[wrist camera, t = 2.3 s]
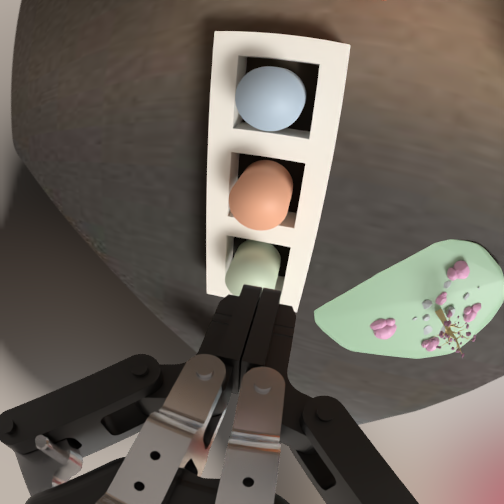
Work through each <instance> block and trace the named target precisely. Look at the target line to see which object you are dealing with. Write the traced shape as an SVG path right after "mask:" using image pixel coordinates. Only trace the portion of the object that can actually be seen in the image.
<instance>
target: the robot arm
mask: <svg viewBox="0 0 504 504" xmlns="http://www.w3.org/2000/svg"><path fill="white" fill-rule="evenodd" d="M280 298H281V291H280V290H275V289H269V288H263V290H262V287H258V286H252V285H247V284H244V285H243V287H242V290H241V293H240V295H239V296H235V295H230V294H228V295H227V296H226V297H225V298H224V299H223V300H221V301H220V303H219V305H218V307H217V309H216V312H215V314H214V316H213V319H212V322H211V323H210V326H209V328H208V330H207V333H206V335H205V337H204V340H203V342H202V344H201V347H200V349H199V351H198V353H197V354H196V356H194V357H192V358H191V359H189V360H188V361H187V362H185V363H182V364H177V365H176V364H175V365H159V363H158V362H157V360H156V359H154V358H153V357H151V356H149V355H146V354H138V355H134V356H131V357H129V358H127V359H125V360H123V361H120V362H118V363H116V364H114V365H112V366H110V367H107V368H105V369H103V370H101V371H99V372H97V373H95V374H92V375H90V376H87V377H85V378H83V379H81V380H79V381H76V382H74V383H72V384H69V385H67V386H65V387H62V388H60V389H58V390H56V391H53V392H51V393H49V394H46V395H44V396H41V397H39V398H36V399H34V400H32V401H29V402H27V403H24V404H22V405H20V406H17V407H15V408H12V409H9V410H7V411H5V412H3V413H2V414H1V415H0V440H1V442H3V443H4V444H6V445H7V446H8V447H10V448H11V449H12V450H13V451H14V452H15V454H16V457H17V460H18V463H19V466H20V469H21V472H22V474H23V477H24V480H25V483H26V485H27V488H28V490H29V493H30V495H31V497H30V498H29V499H28V500H27V501H26V503H25V504H289V503H288V502H287V501H286V500H285V499H283V498H282V497H281V496H279V495H277V494H276V493H275V491H276V483H277V475H278V467H279V459H280V450H281V445H280V444H281V443H283V444H285V445H287V446H289V447H290V450H291V451H292V453H293V454H294V456H295V458H296V459H297V461H298V462H299V464H300V465H301V467H302V468H303V470H304V471H305V473H306V474H307V476H308V477H309V479H310V480H311V482H312V483H313V485H314V486H315V488H316V489H317V491H318V492H319V494H320V495H321V496H322V498H323V500H324V501H325V502H326V504H419V503H418V502H417V501H416V499H415V498H414V497H413V496H412V494H411V493H410V492H409V491H408V489H407V488H406V487H405V485H404V484H403V483H402V482H401V480H400V479H399V478H398V477H397V475H396V474H395V473H394V471H393V470H392V469H391V468H390V466H389V465H388V464H387V462H386V461H385V460H384V459H383V457H382V456H381V455H380V453H379V452H378V451H377V450H376V448H375V447H374V446H373V444H372V443H371V442H370V440H369V439H368V438H367V436H366V435H365V434H364V432H363V431H362V430H361V429H360V427H359V426H358V425H357V423H356V422H355V421H354V419H353V418H352V417H351V415H350V414H349V413H348V411H347V410H346V409H345V407H344V406H343V405H342V404H341V403H340V402H339V401H338V400H337V399H335V398H333V397H329V396H318V397H315V398H312V397H309V396H307V395H305V394H303V393H301V392H299V391H298V390H296V389H295V388H294V387H293V386H292V385H291V383H290V382H289V380H288V376H287V368H288V363H289V357H290V351H291V345H292V339H293V333H294V327H295V320H296V315H295V312H294V310H293V307H292V306H289V305H283V304H280ZM239 389H240V393H239V398H238V403H237V408H236V413H235V418H234V423H233V427H232V432H231V435H230V438H229V441H228V445H227V450H226V455H225V459H224V464H223V469H222V474H221V478H220V479H207V478H206V479H205V478H201V475H202V472H203V470H204V468H205V465H206V462H207V458H208V453H209V450H210V448H211V445H212V443H213V440H214V438H215V436H216V434H217V431H218V429H219V426H220V424H221V421H222V419H223V417H224V414H225V412H226V409H227V405H228V402H229V399H230V396H231V393H234V394H238V392H239ZM138 432H139V434H138V436H137V438H136V440H135V441H134V443H133V445H132V447H131V448H130V450H129V452H128V454H127V456H126V457H122V458H119V459H116V460H113V461H111V462H109V463H107V464H105V465H103V466H101V467H98V468H96V469H94V470H92V471H90V472H88V473H86V474H83V475H81V476H79V477H77V478H74V479H72V480H69V479H70V478H71V477H72V476H74V475H75V474H77V473H78V472H79V471H80V470H81V468H82V463H83V459H82V458H83V457H85V456H87V455H90V454H92V453H94V452H97V451H99V450H101V449H104V448H106V447H108V446H110V445H113V444H114V443H117V442H119V441H121V440H123V439H125V438H128V437H129V436H132V435H134V434H136V433H138ZM280 442H281V443H280ZM68 480H69V481H68Z"/></svg>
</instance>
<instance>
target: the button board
mask: <svg viewBox="0 0 504 504" xmlns="http://www.w3.org/2000/svg"><path fill="white" fill-rule="evenodd" d="M349 52H350V45H349V44H344V43H339V42H333V41H328V40H322V39H316V38H309V37H302V36H294V35H285V34H275V33H262V32H241V31H215V33H214V45H213V59H212V73H211V89H210V108H209V129H208V157H207V205H206V270H207V293H208V294H212V295H216V296H221V297H226V296H227V295H228V294H230V295H233V294H232V293H231V292H230V291H229V290H228V288H227V286H226V283H225V276H226V273H227V271H228V269H229V266H230V264H231V262H232V260H233V244H234V237H239V238H245V239H250V240H255V241H260V242H266V243H271V244H276V245H281V246H287V247H291V249H290V254H289V259H288V264H287V269H286V275H285V277H281V276H278V277H277V281H276V285H275V290H280V291H281V298H280V304H283V305H289V306H292V307H293V310H294V312H297V310H298V306H299V302H300V299H301V295H302V291H303V287H304V283H305V279H306V275H307V271H308V267H309V263H310V259H311V255H312V251H313V247H314V242H315V238H316V234H317V229H318V225H319V221H320V216H321V212H322V207H323V202H324V198H325V193H326V188H327V183H328V178H329V173H330V168H331V163H332V158H333V153H334V147H335V142H336V136H337V130H338V125H339V119H340V113H341V107H342V101H343V94H344V88H345V81H346V74H347V67H348V59H349ZM247 57H255V58H267V59H277V60H286V61H294V62H301V63H308V64H314V65H320V67H319V74H318V82H317V89H316V97H315V104H314V111H313V118H312V125H311V131H310V132H308V131H302V130H296V129H290V128H284V129H281V130H278V131H264V130H260V129H257V128H255V127H253V126H251V125H249V124H248V123H246V122H242V117H241V115H240V114H239V112H238V109H237V107H236V102H235V94H236V89H237V86H238V84H239V82H240V81H241V79H242V78H243V77H244V76H245V75H246V67H247ZM239 153H243V154H250V155H257V156H264V157H271V158H277V159H283V160H289V161H295V162H301V163H305V169H304V175H303V181H302V187H301V193H300V199H299V205H298V210H297V213H294V212H289V211H288V212H287V215H286V217H285V219H284V220H283V221H282V222H281V223H280V224H279V225H278V226H276V227H275V228H272V229H269V230H263V231H259V230H253V229H250V228H247V227H245V226H244V225H242V224H241V223H239V222H238V221H237V220H236V219H235V217H234V216H233V214H232V213H231V210H230V207H229V194H230V191H231V189H232V187H233V186H234V185H235V183H236V182H237V180H238V167H239Z"/></svg>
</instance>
